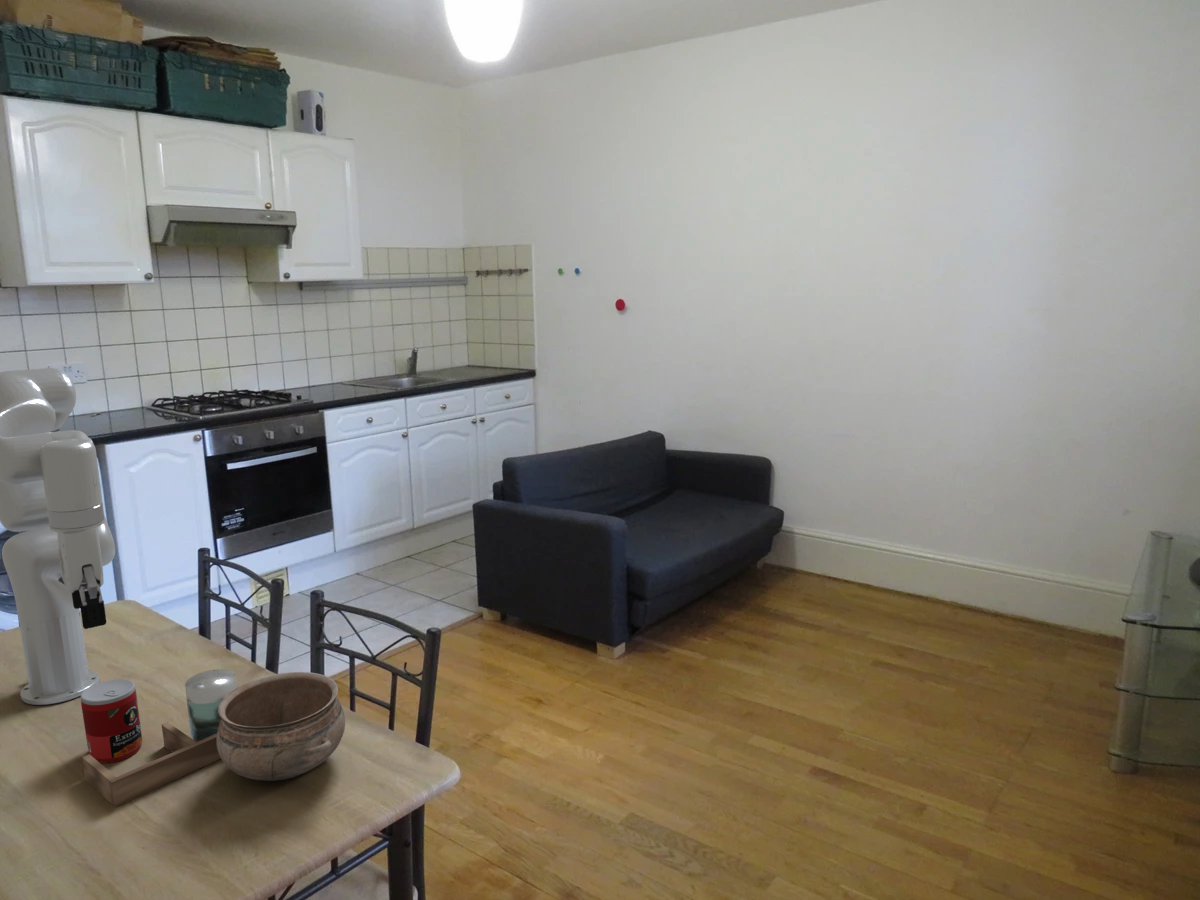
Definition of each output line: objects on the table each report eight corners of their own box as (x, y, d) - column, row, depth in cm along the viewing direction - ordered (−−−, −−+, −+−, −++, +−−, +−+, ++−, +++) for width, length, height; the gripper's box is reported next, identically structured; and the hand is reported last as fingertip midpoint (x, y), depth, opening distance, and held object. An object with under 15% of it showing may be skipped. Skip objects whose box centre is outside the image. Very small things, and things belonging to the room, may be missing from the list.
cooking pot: (191, 764, 134) (183, 694, 131) (301, 718, 147) (295, 654, 145) (267, 831, 117) (259, 752, 115) (382, 772, 131) (377, 701, 129)
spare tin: (183, 742, 140) (176, 681, 138) (227, 723, 146) (221, 665, 144) (206, 757, 136) (198, 695, 133) (250, 737, 141) (244, 677, 139)
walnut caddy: (85, 780, 130) (81, 756, 129) (238, 714, 149) (236, 694, 148) (115, 806, 123) (111, 782, 122) (272, 734, 142) (269, 713, 141)
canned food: (119, 766, 133) (111, 703, 131) (77, 761, 135) (67, 698, 133) (154, 740, 141) (146, 680, 138) (113, 736, 142) (104, 676, 140)
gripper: (42, 507, 137) (55, 604, 141) (56, 535, 124) (71, 641, 128) (94, 500, 142) (106, 594, 146) (113, 525, 129) (126, 628, 133)
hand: (89, 616), depth 137 cm, fingers open, 9 cm apart
